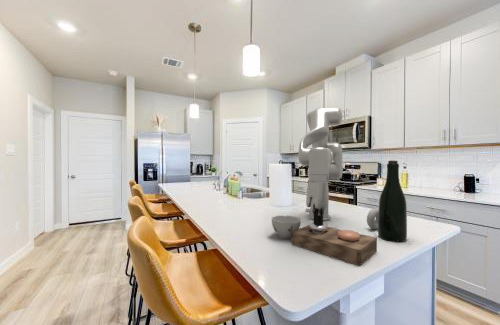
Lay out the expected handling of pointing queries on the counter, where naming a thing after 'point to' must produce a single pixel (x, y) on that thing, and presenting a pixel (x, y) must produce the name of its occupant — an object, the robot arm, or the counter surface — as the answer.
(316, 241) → the block
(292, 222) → the teacup
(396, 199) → the dark green wine bottle
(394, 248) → the counter surface
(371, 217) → the donut
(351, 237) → the button
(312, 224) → the button
